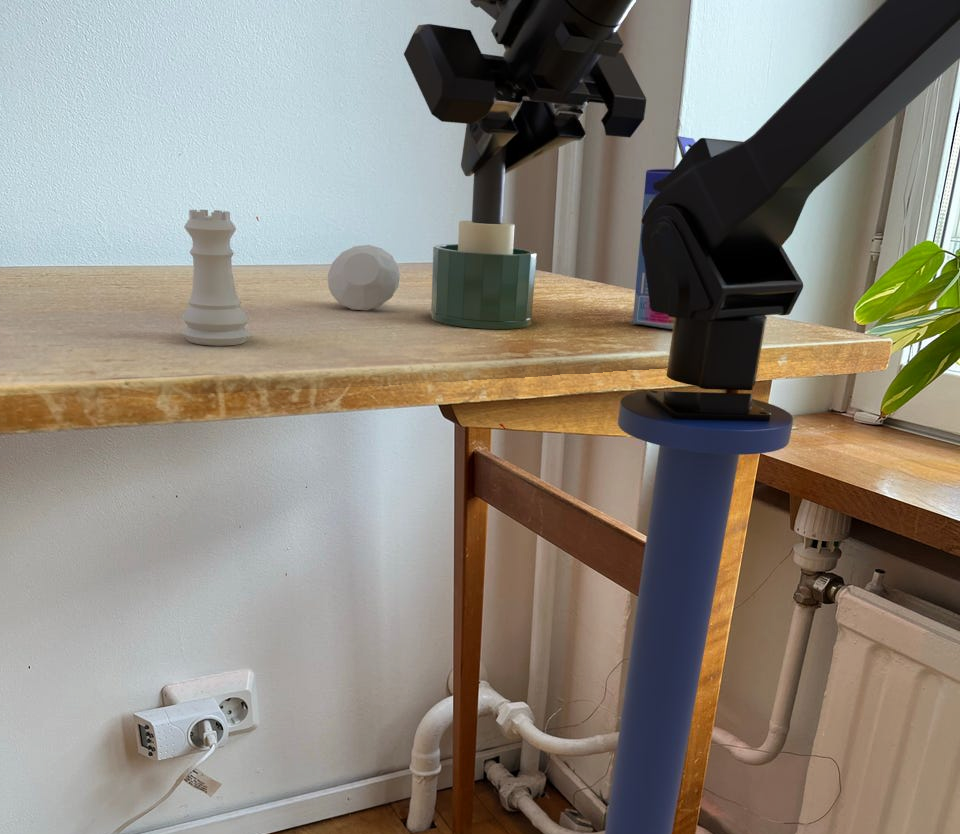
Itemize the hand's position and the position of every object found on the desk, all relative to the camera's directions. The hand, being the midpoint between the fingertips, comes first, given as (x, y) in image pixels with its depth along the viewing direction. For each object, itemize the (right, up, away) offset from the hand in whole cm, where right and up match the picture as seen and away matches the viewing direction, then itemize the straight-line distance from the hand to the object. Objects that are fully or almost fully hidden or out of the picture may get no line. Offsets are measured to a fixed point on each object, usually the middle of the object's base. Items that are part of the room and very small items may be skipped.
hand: (479, 172), depth 77 cm
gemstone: (-10, -8, +7) cm, 15 cm away
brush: (0, -6, +2) cm, 7 cm away
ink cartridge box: (+18, -9, +9) cm, 22 cm away
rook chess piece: (-18, -17, -11) cm, 27 cm away
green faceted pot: (0, -10, +4) cm, 11 cm away
